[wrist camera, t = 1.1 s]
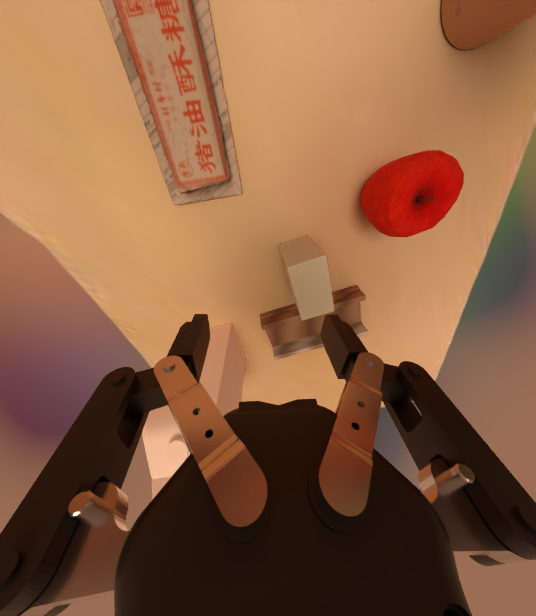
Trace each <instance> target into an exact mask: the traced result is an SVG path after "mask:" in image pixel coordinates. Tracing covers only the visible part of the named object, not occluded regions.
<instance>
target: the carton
mask: <svg viewBox="0 0 536 616" xmlns="http://www.w3.org/2000/svg"><path fill="white" fill-rule="evenodd" d="M278 247H279V251H280V254H281V258H282V261H283V265H284V268H285V271H286V275H287V278H288V282H289V285H290V289H291V292H292V295H293V297H294V300H295V303H296V306H297V308H298V311H299V314H300V317H301V320H302V321H303V320H306V319H309V318H313V317H316V316H320V315H323V314H326V313H330V312H333V311H334V304H333V303H334V302H333V296H332V289H331V282H330V276H329V269H328V262H327V256H326V254H325V253H324V252H323V251H322V250H321V249H320V248H319V247H318V246H317V245H316V244H315V243H314V242H313V241H312V240H311V239H310V238H309V237H308V236H307V235H305V236H302V237H299V238H297V239H294V240H291V241H288V242H285V243H282V244H279V245H278Z"/></svg>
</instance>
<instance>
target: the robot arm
mask: <svg viewBox="0 0 536 616" xmlns="http://www.w3.org/2000/svg"><path fill="white" fill-rule="evenodd" d="M441 15H442V24H443V29H444V32H445V35H446V37H447V39H448V40H449V42H450V43H451V44H452V45H453V46H455V47H456V48H458V49H463V50H468V49H474V48H476V47H479V46H481V45H483V44H485V43H487V42H488V41H490V40H492V39H494V38H495V37H497V36H499V35H501V34H502V33H504V32H506V31H508V30H509V29H511V28H513V27H515V26H516V25H518V24H520V23H522V22H524V21H525V20H527V19H529V18H531V17H532V16H534V15H536V0H442V11H441ZM321 340H322V343H323V345H324V347H325V350H326V352H327V354H328V356H329V359H330V361H331V363H332V366H333V368H334V370H335V373H336V375H337V377H338V379H345V380H346V384H345V387H344V389H343V392H342V395H341V398H340V400H339V403H338V406H337V408H336V411H335V413H334V412H333V411H331V410H329V409H327V408H325V407H322V406H319V405H317V401H316V399H299V400H294V401H291V402H288V403H285V404H282V405H274V404H270V403H265V402H260V401H248V402H239V408H237V409H234V410H232V411H230V412H228V413H227V414H225V415H224V416H223V415H222V414H221V412H220V411H219V409H218V408H217V406H216V405H215V403H214V402H213V400H212V399H211V397H210V396H209V394H208V393H207V391H206V390H205V388H204V387H203V385H202V384H201V383H200V382H199V381H200V377H201V374H202V370H203V366H204V362H205V358H206V354H207V350H208V346H209V342H210V328H209V321H208V315H207V314H195V315H194V317H193V320H192V322H186V323H185V324H183V325H182V326H181V327H180V330H179V332H178V334H177V336H176V339H175V340H174V342H173V344H172V347H171V349H170V351H169V353H168V355H167V357H165V358H163V359H161V360H160V361H159V362H157V364H156V365H155V367H154V368H151V369H147V370H144V371H140V372H136V373H135V371H134V369H132V368H130V367H123V368H119V369H116V370H114V371H112V372H110V373H109V374H107V375H106V376H105V377H104V378H103V380H102V381H101V383H100V384H99V386H98V387H97V389H96V390H95V392H94V393H93V395H92V396H91V398H90V399H89V401H88V402H87V404H86V405H85V407H84V408H83V410H82V411H81V413H80V414H79V416H78V417H77V419H76V420H75V422H74V424H73V425H72V426H71V428H70V430H69V431H68V433H67V434H66V436H65V437H64V439H63V440H62V442H61V443H60V445H59V446H58V448H57V449H56V451H55V452H54V454H53V455H52V457H51V459H50V460H49V461H48V463H47V464H46V466H45V467H44V469H43V470H42V472H41V473H40V475H39V477H38V478H37V479H36V481H35V482H34V484H33V486H32V487H31V489H30V490H29V492H28V493H27V495H26V496H25V498H24V499H23V501H22V502H21V504H20V505H19V507H18V509H17V510H16V511H15V513H14V514H13V516H12V517H11V519H10V520H9V522H8V523H7V525H6V526H5V528H4V529H3V531H2V532H1V534H0V616H56V615H58V614H59V613H61V612H62V611H63V610H64V609H65V608H67V607H68V606H69V605H70V604H71V603H74V602H79V601H84V600H89V599H93V598H98V597H103V596H108V595H112V594H114V601H115V616H472V614H471V612H470V609H469V606H468V603H467V601H466V598H465V596H464V592H463V589H462V586H461V583H460V580H459V576H458V572H457V568H456V563H455V558H454V555H469V556H470V557H471V558H472V559H473V560H475V561H476V562H478V563H479V564H482V565H485V566H492V565H499V564H506V563H513V562H520V561H527V560H534V559H536V503H535V502H534V500H533V499H532V498H531V497H530V496H529V494H528V493H527V492H526V491H525V489H524V488H523V487H522V486H521V485H520V483H519V482H518V481H517V480H516V479H515V478H514V476H513V475H512V474H511V473H510V471H509V470H508V469H507V468H506V467H505V465H504V464H503V463H502V462H501V461H500V459H499V458H498V457H497V456H496V455H495V453H494V452H493V451H492V450H491V449H490V447H489V446H488V445H487V444H486V443H485V441H484V440H483V439H482V438H481V437H480V436H479V434H478V433H477V432H476V431H475V429H474V428H473V427H472V426H471V424H470V423H469V422H468V421H467V420H466V419H465V417H464V416H463V415H462V414H461V412H460V411H459V410H458V409H457V408H456V407H455V405H454V404H453V403H452V402H451V400H450V399H449V398H448V397H447V396H446V395H445V393H444V392H443V391H442V390H441V388H440V387H439V386H438V385H437V384H436V382H435V381H434V380H433V379H432V377H431V376H430V375H429V374H428V373H427V371H426V370H425V369H423V368H422V367H421V366H419V365H417V364H415V363H413V362H409V361H404V362H401V363H400V365H399V367H397V366H393V365H388V364H384V363H383V361H382V360H381V359H380V358H379V357H378V356H376V355H374V354H372V353H369V352H368V351H367V350H366V348H365V347H364V345H363V344H362V342H361V341H360V339H359V338H358V337H357V335H356V333H355V332H354V330H353V329H352V327H351V326H350V325H349V324H347V323H346V322H345V321H343V322H342V320H341V319H340V317H339V316H338V315H337V314H326V315H325V317H324V321H323V325H322V329H321ZM381 401H383V402H384V404H385V406H386V408H387V410H388V412H389V414H390V415H391V418H392V420H393V421H394V423H395V425H396V427H397V429H398V431H399V433H400V435H401V437H402V439H403V441H404V442H405V444H406V446H407V448H408V450H409V452H410V454H411V456H412V458H413V460H414V461H415V463H416V465H417V467H418V469H419V473H418V481H419V485H420V487H421V488H420V490H419V489H418V488H417V487H416V486H414V485H413V484H412V483H411V482H410V481H409V480H408V479H407V478H406V477H405V476H404V475H402V474H401V473H400V472H399V471H398V470H397V469H396V468H395V467H394V466H392V464H390V463H389V462H388V461H387V460H386V459H385V458H384V457H383V456H382V455H381V454H380V453H378V452H377V451H376V450H375V449H374V448H373V446H374V441H375V435H376V429H377V423H378V418H379V412H380V406H381ZM412 401H414V403H415V404H416V406H417V407H418V409H419V410H420V412H421V415H422V416H421V415H420V413H419V412H418V410H417V409H416V407H415V406H414V404H413V403H412ZM167 405H168V406H169V408H170V411H171V413H172V415H173V417H174V419H175V421H176V424H177V426H178V428H179V430H180V432H181V434H182V437H183V439H184V441H185V443H186V446H187V448H188V450H189V452H190V455H189V456H188V457H187V458H186V460H185V461H184V462H183V463H182V465H181V466H180V467H179V468H178V469H177V471H176V472H175V473H174V474H173V475H172V477H171V478H170V479H169V480H168V482H167V483H166V484H165V485H164V486H163V488H162V489H161V490H160V491H159V492H158V494H157V495H156V496H155V497H154V499H153V500H152V501H151V502H150V503H149V505H148V506H147V507H146V508H145V509H144V511H143V512H142V513H141V515H140V516H139V517H138V519H137V520H136V522H135V523H134V525H133V527H132V528H131V530H130V531H128V530H127V527H126V515H127V511H128V498H127V496H126V494H125V493H123V492H122V491H121V487H122V485H123V482H124V479H125V477H126V474H127V471H128V468H129V466H130V463H131V460H132V457H133V455H134V452H135V450H136V447H137V444H138V442H139V439H140V436H141V433H142V431H143V428H144V425H145V423H146V420H147V417H148V415H149V412H150V411H152V410H155V409H158V408H161V407H164V406H167Z"/></svg>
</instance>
